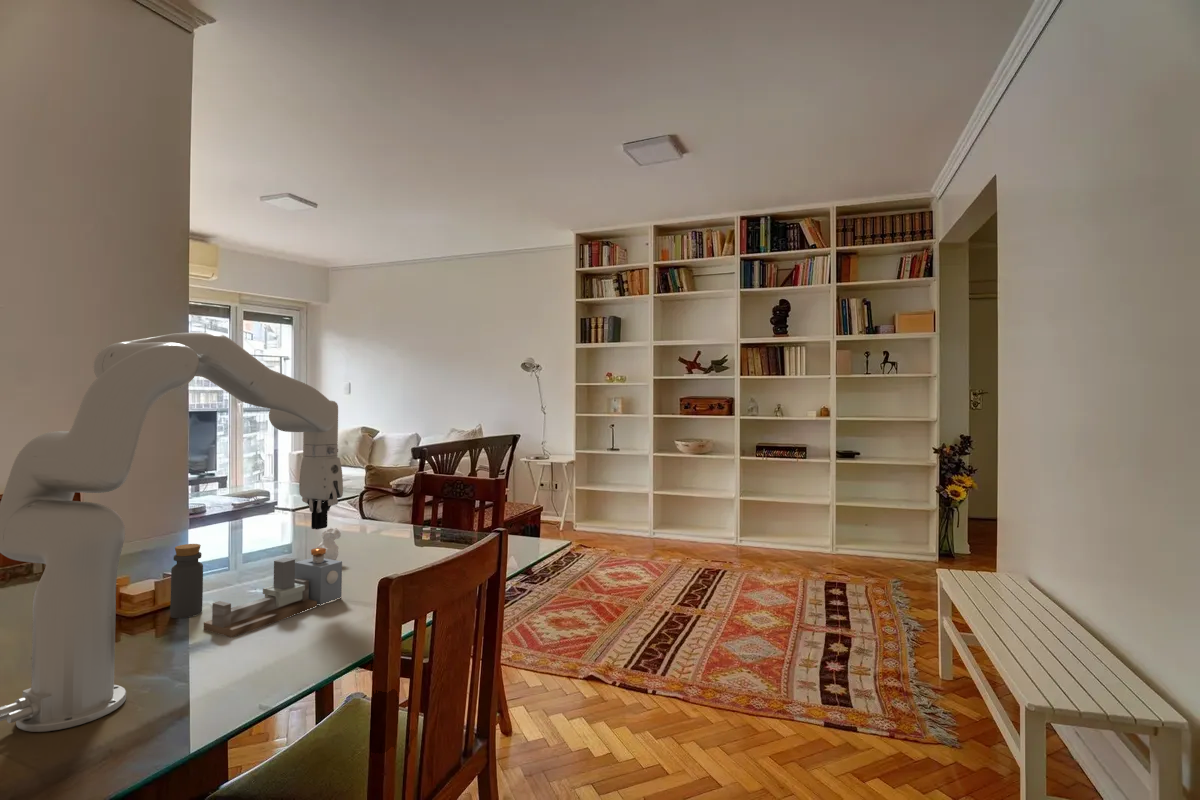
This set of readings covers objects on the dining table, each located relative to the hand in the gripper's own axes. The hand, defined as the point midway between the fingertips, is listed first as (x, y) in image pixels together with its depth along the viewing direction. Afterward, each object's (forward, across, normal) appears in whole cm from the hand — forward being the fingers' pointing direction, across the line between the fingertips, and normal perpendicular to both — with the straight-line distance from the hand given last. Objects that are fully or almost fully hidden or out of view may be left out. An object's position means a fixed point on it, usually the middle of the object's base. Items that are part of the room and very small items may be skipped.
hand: (319, 528), depth 145 cm
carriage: (+15, 0, +9) cm, 17 cm away
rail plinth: (+17, 0, +14) cm, 22 cm away
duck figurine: (+18, +25, -24) cm, 39 cm away
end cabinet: (+17, 0, 0) cm, 17 cm away
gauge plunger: (+11, 0, 0) cm, 11 cm away
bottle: (+17, +17, +20) cm, 32 cm away
